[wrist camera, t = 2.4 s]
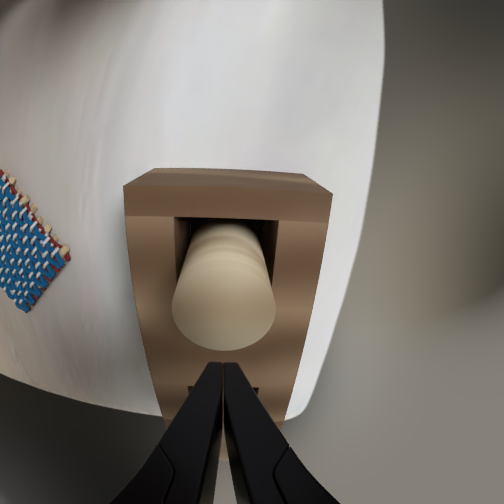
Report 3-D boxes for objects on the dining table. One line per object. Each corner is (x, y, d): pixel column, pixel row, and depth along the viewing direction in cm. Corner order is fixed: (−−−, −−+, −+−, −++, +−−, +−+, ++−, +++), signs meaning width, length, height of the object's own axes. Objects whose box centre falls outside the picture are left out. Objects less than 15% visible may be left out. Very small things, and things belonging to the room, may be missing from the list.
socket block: (273, 381, 27) (281, 429, 21) (173, 378, 26) (165, 427, 20) (303, 174, 19) (332, 193, 13) (154, 168, 18) (123, 186, 12)
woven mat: (10, 160, 16) (-5, 164, 14) (78, 250, 20) (67, 260, 18) (-26, 234, 18) (-37, 242, 17) (32, 308, 22) (23, 319, 20)
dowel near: (258, 283, 17) (270, 350, 12) (190, 281, 17) (176, 348, 11) (263, 218, 15) (281, 268, 10) (189, 215, 15) (167, 264, 10)
